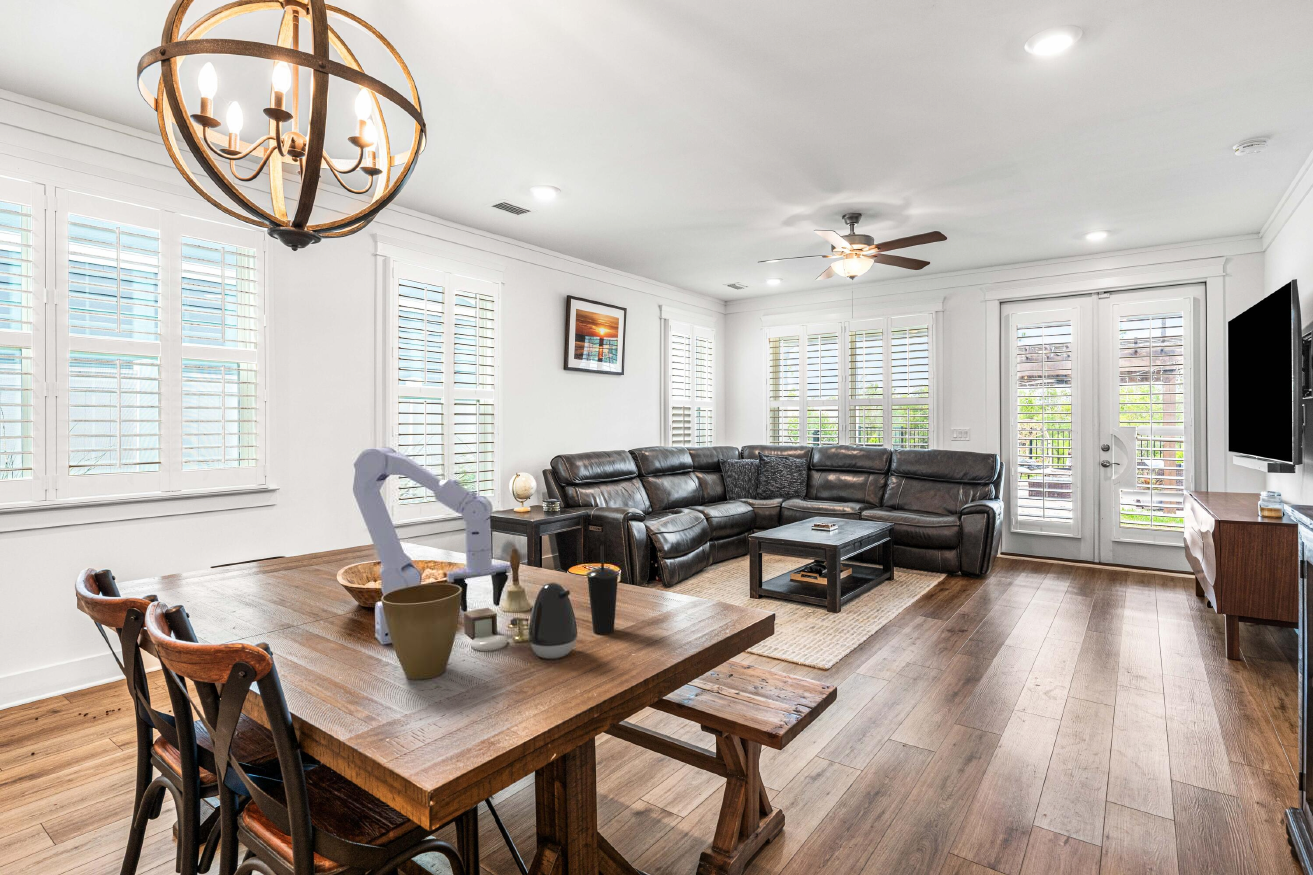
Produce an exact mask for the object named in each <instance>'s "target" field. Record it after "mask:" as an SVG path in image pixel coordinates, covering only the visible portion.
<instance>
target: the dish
mask: <svg viewBox="0 0 1313 875" xmlns="http://www.w3.org/2000/svg"><path fill="white" fill-rule="evenodd" d="M507 641H508V638H507V637H506V636H505V635H499V634H497V635H494V634H492V635H487V636H481V637H478V638H475V639H474V640H472V639H471V643H470V644H471V649H472V650H473V651H477V652H491V651H495V650H496V651H497V650H500V649H502V648H505V647H506V646H507V644H508V642H507Z"/></svg>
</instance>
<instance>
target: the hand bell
mask: <svg viewBox="0 0 1313 875" xmlns="http://www.w3.org/2000/svg"><path fill="white" fill-rule="evenodd" d="M510 551H511V552H510V556H509V564H510V565H511V573H512V575H511V576H512V585H511V586H510V587H508V588H507V592H506V599H505V601H504V602H503V604H502V605H501V606H500V611H501V612H504V613H514V614H515V613H521V612H527V611H529V610H531V609H533V604H532V603H531V602H530V601H529V600H528V598H527V594H526V590H525V586H522V585H521V584H520V578H519V577H520V576H519V569H520V565H521V564H520V563H521V558H520V553H519V552H518V548H517V547H512V548H511V550H510Z"/></svg>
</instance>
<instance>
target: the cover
mask: <svg viewBox="0 0 1313 875" xmlns="http://www.w3.org/2000/svg"><path fill="white" fill-rule="evenodd" d="M497 614H498V613H497V612H496V611H494V610H493V609H491V608H489V607H485V608H479V609H473V610H467V611H466V612H463V626H464V630H463V632H464V635H465V636H467V637H468V638H469V639H470V640H471V641H472V640H474V639H475V632H474V620H475V619H481V618H486V617H491V618H492V635H498V615H497Z"/></svg>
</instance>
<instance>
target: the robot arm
mask: <svg viewBox="0 0 1313 875" xmlns="http://www.w3.org/2000/svg"><path fill="white" fill-rule="evenodd" d="M353 467H354V470H355V471H354V479H353V485H352V492H353V495H354V498H355V501H356V504H357V505H358V507H359V511H360V513H361V515H362V518H363V521H364V523H365V525H366V529H367V530H368V534H369V536H370V538H371V541H372V543H373V545H374V548H375V550H376V553H377V555H378V557H379V560H380V568H379V576H380V580H381V586H380V589H381V592H382V596H383V595H385V594H386V593H388V592H391V591H394V590H397V589H400V588H405V587H409V586H415V585H422V582H423V575H422V572H421V571H420V569H419V568H418V567H417V566H415V564H414V563H413V561H412V558H411V557H410V556H409V555H407V553H405V552H404V548H403V546H402V544H401V542H400V538H399V537H398V534H397V531H396V529H395V526H394V524H393V522H392V518H391V516H390V514H389V511H388V508H387V506H386V504H385V501H384V499H383V496H382V494H381V489H382V487H383V486H384V484H385V482H386V480H387V479H388V478H389V477H390V476H404V477H406V478H407V479H409V480H411V481H413V482H414V483H416V484H418V485H420V486H422V487H424V488H425V489H427V490H430V491H431V492H432V493H433V495H434V499H435V500H436V501H437V502H439V503H441V504H442V505H443V506H445V507H447V508H448V509H450V510H452V511H454V512H456V513H457V514H459V515H461V517H462V520H463V521H464V522H465V556H466V557H465V558H466V559H465V561H466V562H465V563H466V567H465V568H461V569H457V570H452V571H447V572H446V581H447V582H448V583H450V584H453V585H458V586H460V587H461V588H462V594H461V604H460V611H462V612H463V613H464V612H466V611H468V601H467V599H468V598H467V592H468V583H467V582H466V579H467V580H468V579H474V578H480V577H487V576H491V583H492V603H493V605H494V606H496V607H499V606H500V602H501V597H502V594H503V591H504V588H505V586H506V583H507V582H508V580H509V574H510V573H512V569H511V565H510V563H507V562H506V563H501V564H499V563H498V564H493V560H492V558H493V557H492V554H493V552H492V529H491V518H490V517H491V515H492V513H493V508H494V507H493V504H492V502H491V501H490V500H489V499H488V498H487V496H485V495H478V492H476V491H471V490H470V489H468V488H466V487H464V486H463V485H461V481H460V480H458V479H456V478H455V479H451V478H446V479H444V480H443V479H441V478H440V477H438V476H436V475H435V474H434V473H432V472H430V470H428V469H426V468H424V466H422V465H420V464H419V463H417V462H416V461H414V460H413V459H411V458H410V457H408V456H407V455H405V454H404V453H402V452H400V451H397V450H396V449H394V448H392V447H389V446H383V447H380V448H378V447H377V448H366V449H364V450H363V451H362V452H361V453H359V454H358V456H357V458H356V460H355V461H354V463H353ZM374 621H375V622H374V624H375V635H374V636H375V638H376V639H377V640H378V641H379V643H380V644H381V645H388V644H389V645H390V644H392V641H391V638H390V634H389V631H388V627H387V623H386V619H385V615H384V610H383V605H382V600H380V601H377V602H375V606H374Z"/></svg>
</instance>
